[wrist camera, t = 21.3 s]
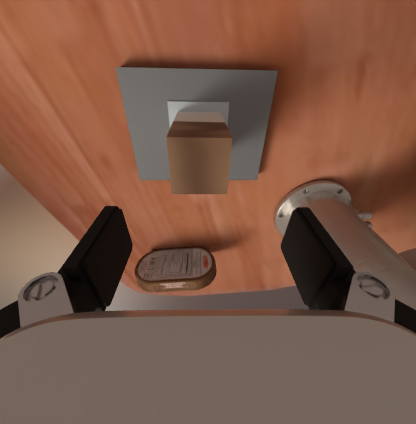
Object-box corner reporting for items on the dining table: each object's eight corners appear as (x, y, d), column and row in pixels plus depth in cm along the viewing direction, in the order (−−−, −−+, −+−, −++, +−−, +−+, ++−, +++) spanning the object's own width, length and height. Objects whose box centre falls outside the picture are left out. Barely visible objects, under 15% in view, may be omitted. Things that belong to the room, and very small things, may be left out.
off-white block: (220, 112, 23) (225, 122, 19) (218, 153, 26) (221, 170, 22) (177, 111, 23) (173, 121, 19) (180, 153, 26) (177, 170, 22)
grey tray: (273, 70, 22) (278, 70, 21) (254, 175, 30) (257, 180, 28) (120, 66, 21) (114, 67, 20) (142, 175, 29) (139, 180, 28)
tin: (143, 258, 41) (132, 296, 34) (138, 248, 39) (126, 286, 32) (215, 253, 41) (218, 290, 34) (214, 242, 39) (217, 280, 32)
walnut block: (225, 122, 19) (232, 138, 15) (221, 170, 22) (226, 194, 18) (173, 121, 19) (166, 137, 15) (176, 169, 22) (171, 193, 18)
